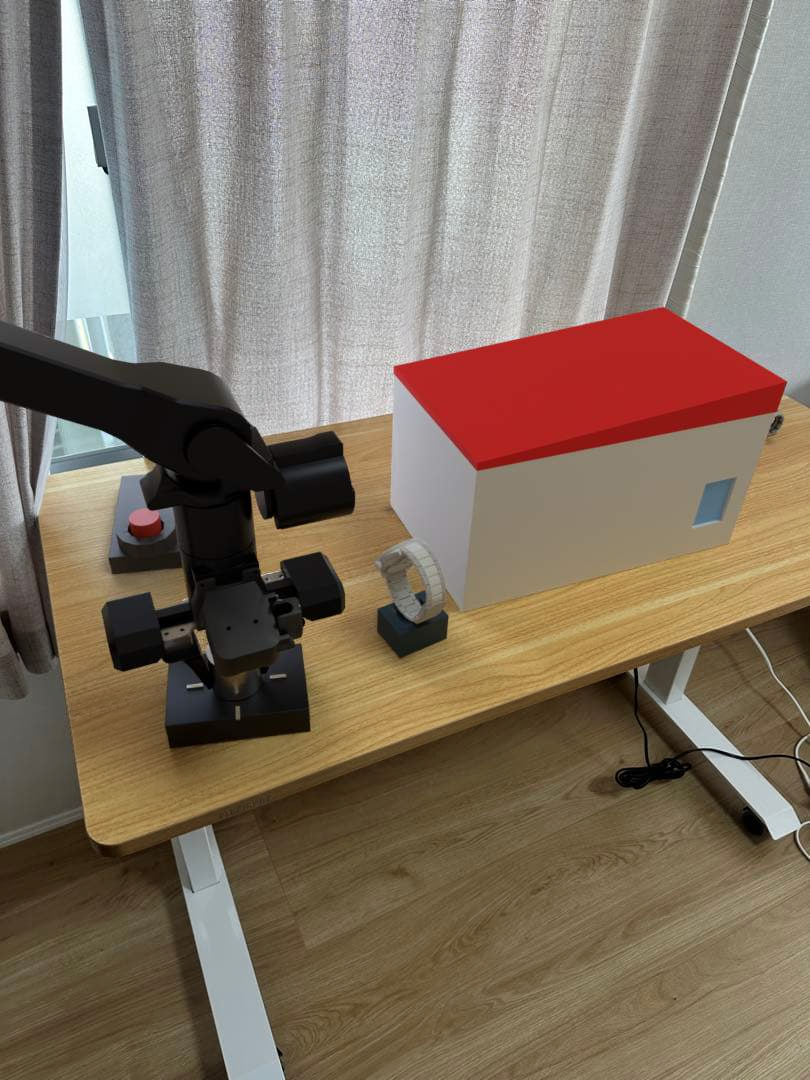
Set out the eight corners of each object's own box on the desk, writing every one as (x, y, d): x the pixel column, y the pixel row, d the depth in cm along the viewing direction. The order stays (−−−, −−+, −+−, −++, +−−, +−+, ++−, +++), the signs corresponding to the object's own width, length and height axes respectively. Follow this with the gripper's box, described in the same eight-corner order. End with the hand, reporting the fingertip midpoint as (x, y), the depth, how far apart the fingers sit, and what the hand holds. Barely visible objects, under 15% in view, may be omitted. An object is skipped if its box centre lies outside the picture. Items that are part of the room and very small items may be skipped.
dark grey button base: (188, 570, 87) (183, 541, 85) (111, 577, 86) (104, 547, 84) (191, 486, 100) (187, 458, 98) (124, 490, 99) (118, 463, 96)
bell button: (161, 537, 86) (158, 524, 85) (130, 540, 85) (127, 527, 84) (162, 520, 88) (160, 507, 87) (132, 522, 88) (129, 509, 87)
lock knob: (206, 671, 72) (200, 637, 69) (254, 658, 73) (250, 623, 71) (218, 707, 69) (212, 672, 66) (268, 691, 70) (264, 657, 67)
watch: (413, 601, 84) (417, 517, 78) (456, 649, 79) (465, 562, 72) (366, 620, 82) (367, 534, 75) (408, 670, 77) (412, 582, 70)
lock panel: (169, 752, 68) (164, 727, 66) (173, 677, 75) (168, 653, 73) (311, 734, 70) (309, 710, 68) (302, 662, 77) (301, 639, 75)
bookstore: (731, 543, 94) (789, 381, 82) (462, 612, 83) (480, 437, 71) (629, 454, 110) (665, 306, 97) (389, 503, 98) (394, 343, 86)
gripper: (102, 638, 52) (142, 785, 62) (370, 571, 58) (369, 713, 68) (83, 540, 60) (120, 683, 70) (320, 491, 66) (325, 628, 76)
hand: (236, 678), depth 71 cm, fingers closed on lock knob, 4 cm apart
